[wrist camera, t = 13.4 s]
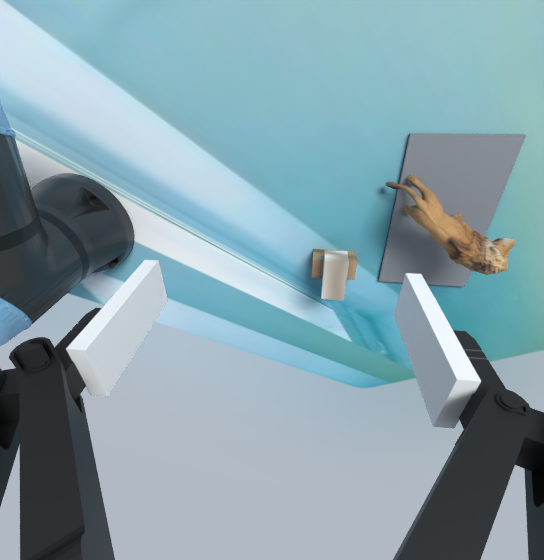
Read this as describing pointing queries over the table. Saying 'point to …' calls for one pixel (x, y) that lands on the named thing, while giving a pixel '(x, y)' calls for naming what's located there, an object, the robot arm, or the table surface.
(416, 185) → the lion figurine
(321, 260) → the brick stack
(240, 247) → the table surface
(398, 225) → the gray mat
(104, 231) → the robot arm
